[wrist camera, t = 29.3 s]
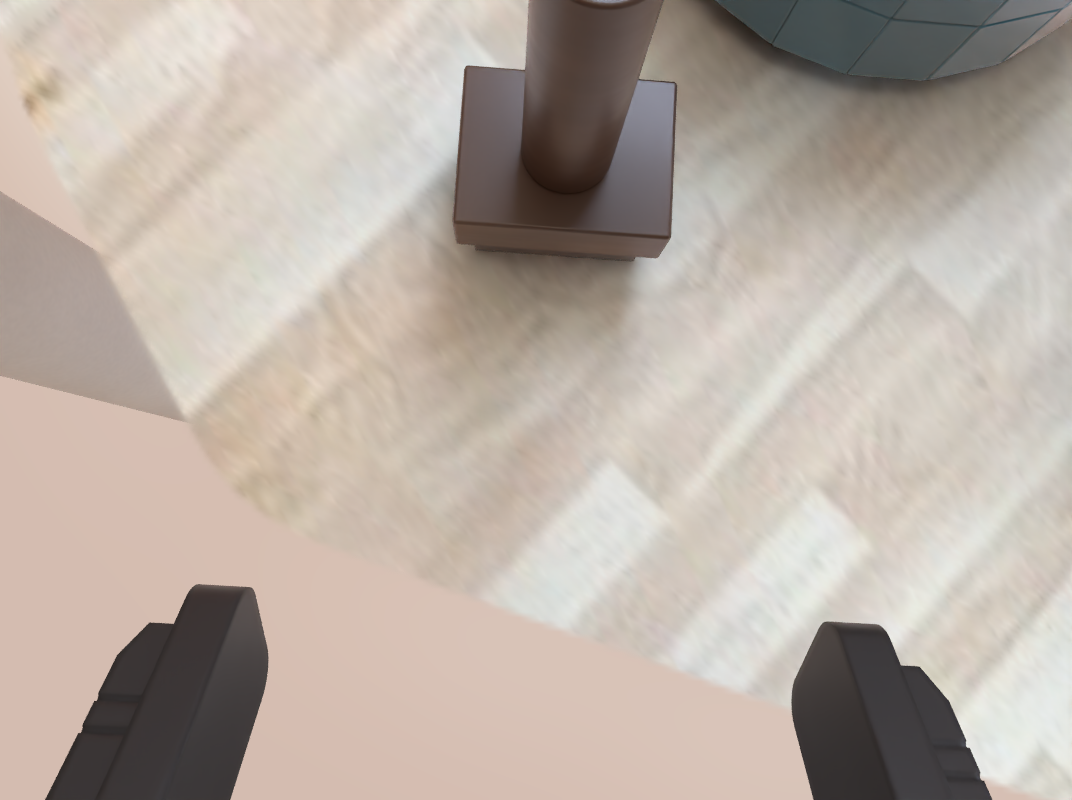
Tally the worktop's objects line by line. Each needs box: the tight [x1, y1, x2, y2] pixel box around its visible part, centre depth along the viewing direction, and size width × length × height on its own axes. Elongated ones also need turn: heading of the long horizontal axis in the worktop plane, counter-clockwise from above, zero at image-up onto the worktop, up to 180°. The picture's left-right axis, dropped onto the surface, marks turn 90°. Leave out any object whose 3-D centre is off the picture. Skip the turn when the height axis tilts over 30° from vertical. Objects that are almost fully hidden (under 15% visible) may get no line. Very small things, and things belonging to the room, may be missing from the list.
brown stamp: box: [453, 0, 677, 261], centre depth 17 cm, size 5×4×10 cm
